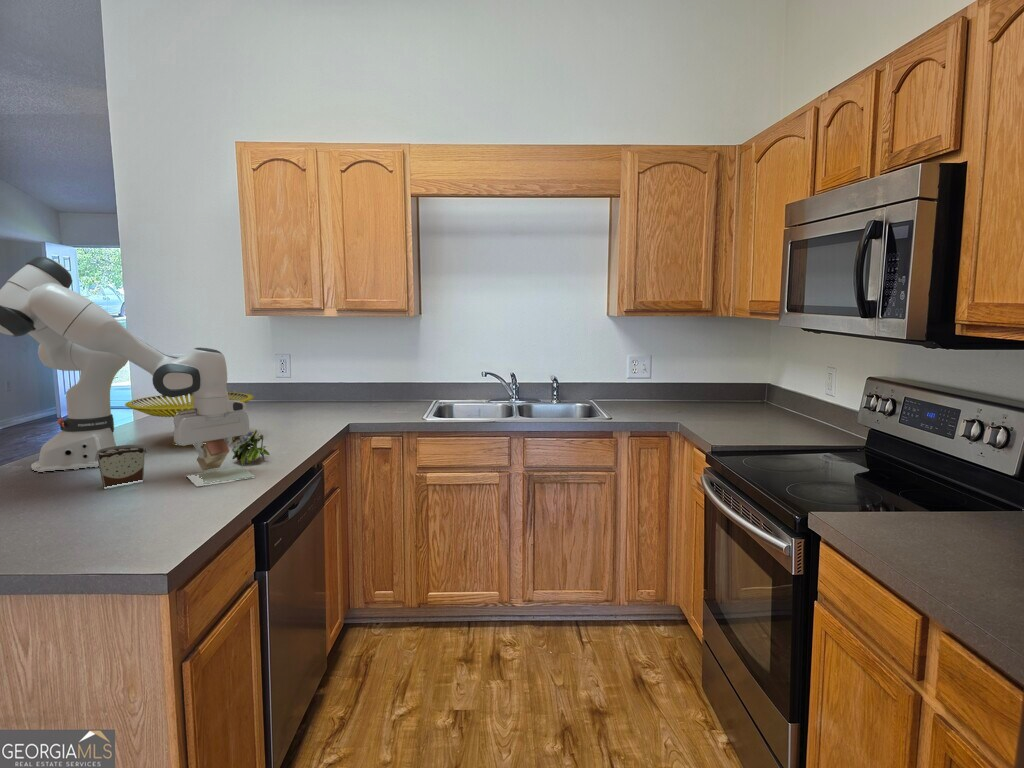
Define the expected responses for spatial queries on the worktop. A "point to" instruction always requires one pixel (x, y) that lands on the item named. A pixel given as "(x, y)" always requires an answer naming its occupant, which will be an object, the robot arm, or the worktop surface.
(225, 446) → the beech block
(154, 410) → the cake stand
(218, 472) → the sage mat
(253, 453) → the passion flower
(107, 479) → the food container
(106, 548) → the worktop surface
